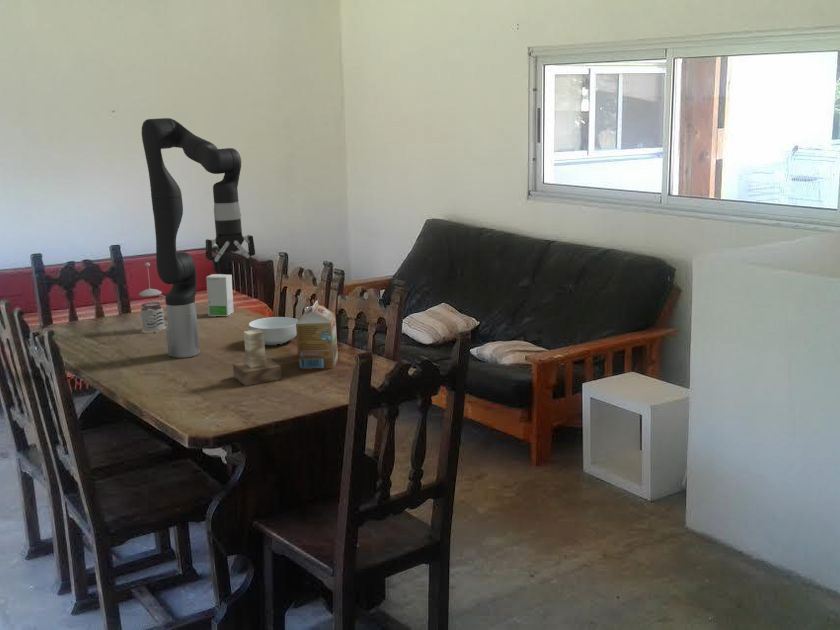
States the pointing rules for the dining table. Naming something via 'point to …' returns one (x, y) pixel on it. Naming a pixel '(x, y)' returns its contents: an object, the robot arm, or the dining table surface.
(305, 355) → the milk carton
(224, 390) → the dining table surface
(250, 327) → the cereal bowl
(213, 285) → the skincare box
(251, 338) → the beech block
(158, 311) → the french press
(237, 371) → the walnut base
